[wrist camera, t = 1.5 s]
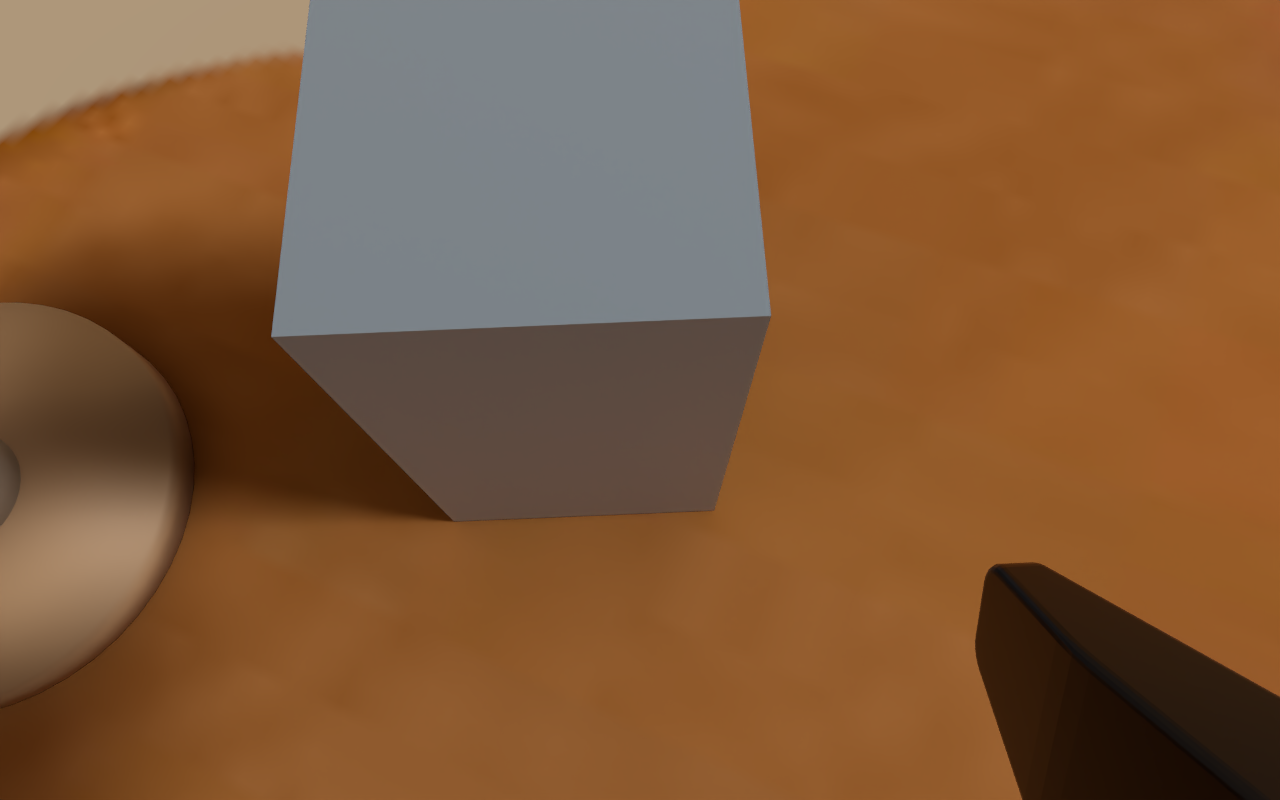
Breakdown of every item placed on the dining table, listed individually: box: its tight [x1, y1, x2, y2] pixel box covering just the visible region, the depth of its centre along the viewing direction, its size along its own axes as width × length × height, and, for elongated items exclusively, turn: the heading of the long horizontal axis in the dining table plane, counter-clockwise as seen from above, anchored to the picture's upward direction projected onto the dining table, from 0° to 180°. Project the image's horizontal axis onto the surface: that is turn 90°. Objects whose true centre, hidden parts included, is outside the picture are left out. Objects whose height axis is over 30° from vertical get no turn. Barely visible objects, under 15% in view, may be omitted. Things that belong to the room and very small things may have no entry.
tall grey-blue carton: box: [271, 0, 771, 521], centre depth 17 cm, size 6×6×11 cm
